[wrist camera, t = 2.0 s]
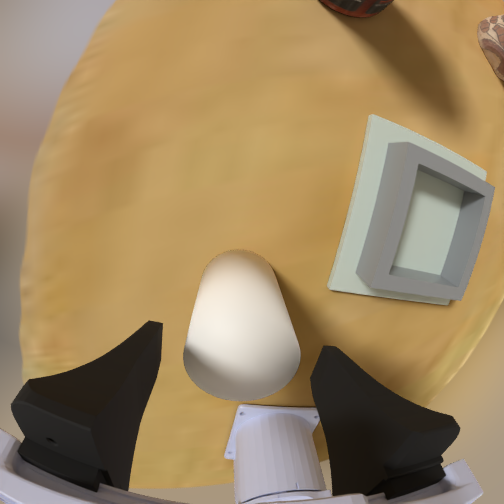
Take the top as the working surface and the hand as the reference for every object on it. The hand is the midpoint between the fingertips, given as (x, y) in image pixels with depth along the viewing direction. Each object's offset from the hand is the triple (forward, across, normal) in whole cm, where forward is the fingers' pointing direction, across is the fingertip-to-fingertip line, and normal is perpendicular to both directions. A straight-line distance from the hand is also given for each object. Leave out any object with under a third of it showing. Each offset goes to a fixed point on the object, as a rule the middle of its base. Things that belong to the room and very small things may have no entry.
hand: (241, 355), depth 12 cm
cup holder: (+8, -12, -7) cm, 16 cm away
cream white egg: (+8, 0, 0) cm, 8 cm away
